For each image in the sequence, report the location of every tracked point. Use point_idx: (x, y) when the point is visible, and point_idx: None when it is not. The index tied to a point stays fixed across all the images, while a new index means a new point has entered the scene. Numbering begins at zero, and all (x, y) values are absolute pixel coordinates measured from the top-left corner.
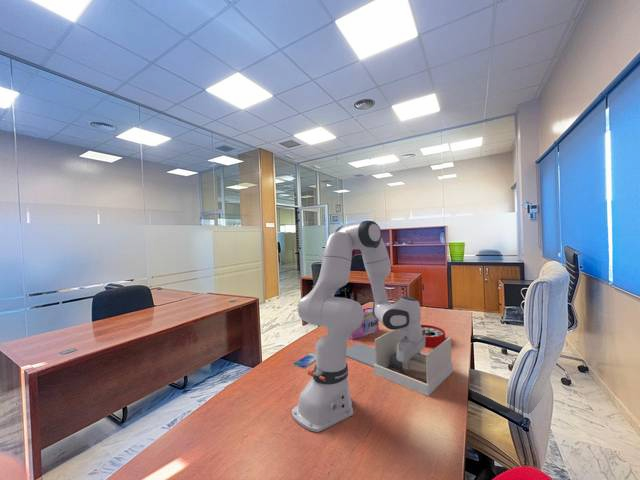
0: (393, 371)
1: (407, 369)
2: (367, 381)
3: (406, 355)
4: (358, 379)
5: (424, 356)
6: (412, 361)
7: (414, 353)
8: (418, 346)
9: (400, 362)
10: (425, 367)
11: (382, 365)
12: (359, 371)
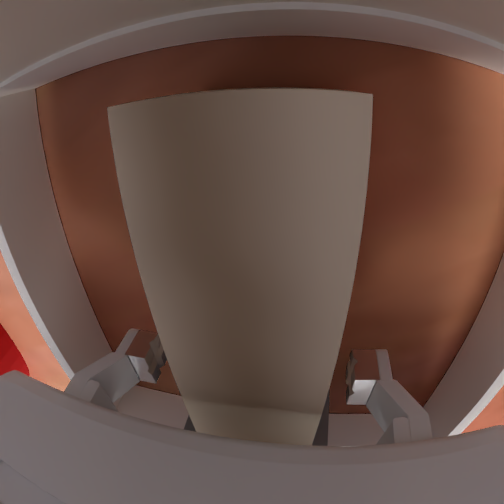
0: (492, 390)
1: (385, 350)
2: (499, 396)
3: (486, 500)
4: (489, 416)
5: (50, 309)
6: (319, 393)
7: (241, 470)
8: (89, 483)
9: (328, 421)
10: (359, 207)
11: (370, 438)
12: None
